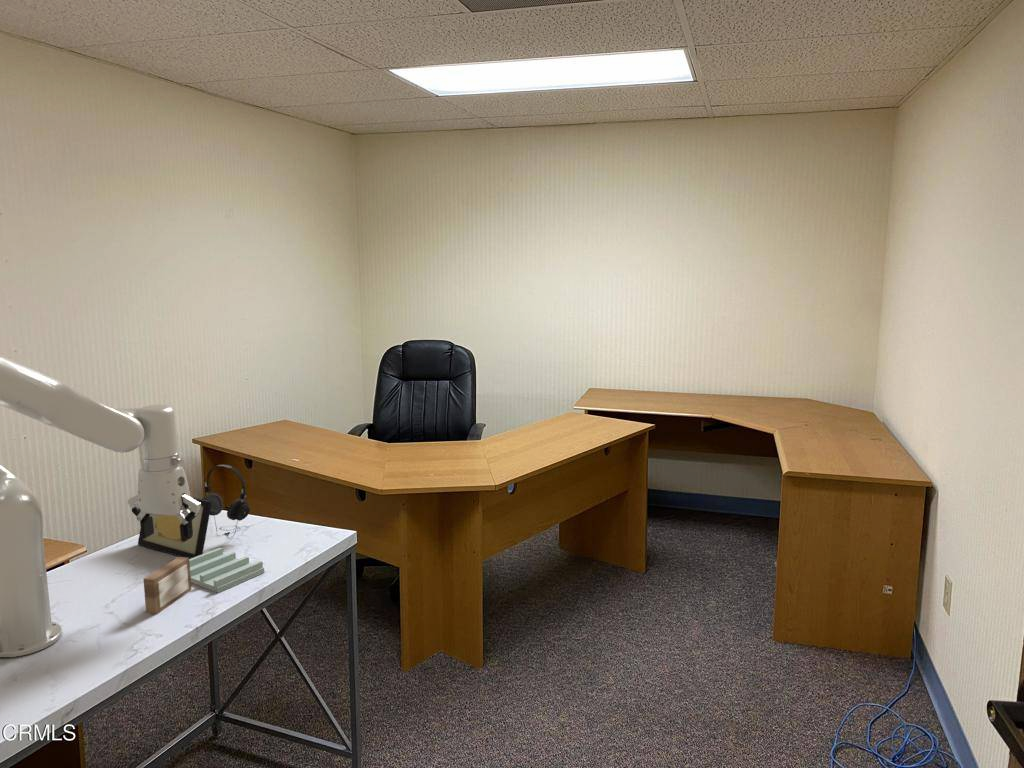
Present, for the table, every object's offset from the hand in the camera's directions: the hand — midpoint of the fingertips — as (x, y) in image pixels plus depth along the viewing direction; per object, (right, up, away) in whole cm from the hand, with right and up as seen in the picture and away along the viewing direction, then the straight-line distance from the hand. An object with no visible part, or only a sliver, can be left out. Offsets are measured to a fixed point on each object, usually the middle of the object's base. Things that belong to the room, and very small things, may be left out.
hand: (167, 537), depth 162 cm
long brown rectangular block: (-1, -15, +2) cm, 15 cm away
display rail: (+5, -12, +16) cm, 21 cm away
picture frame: (-11, -10, +32) cm, 35 cm away
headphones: (-1, -8, +42) cm, 43 cm away
